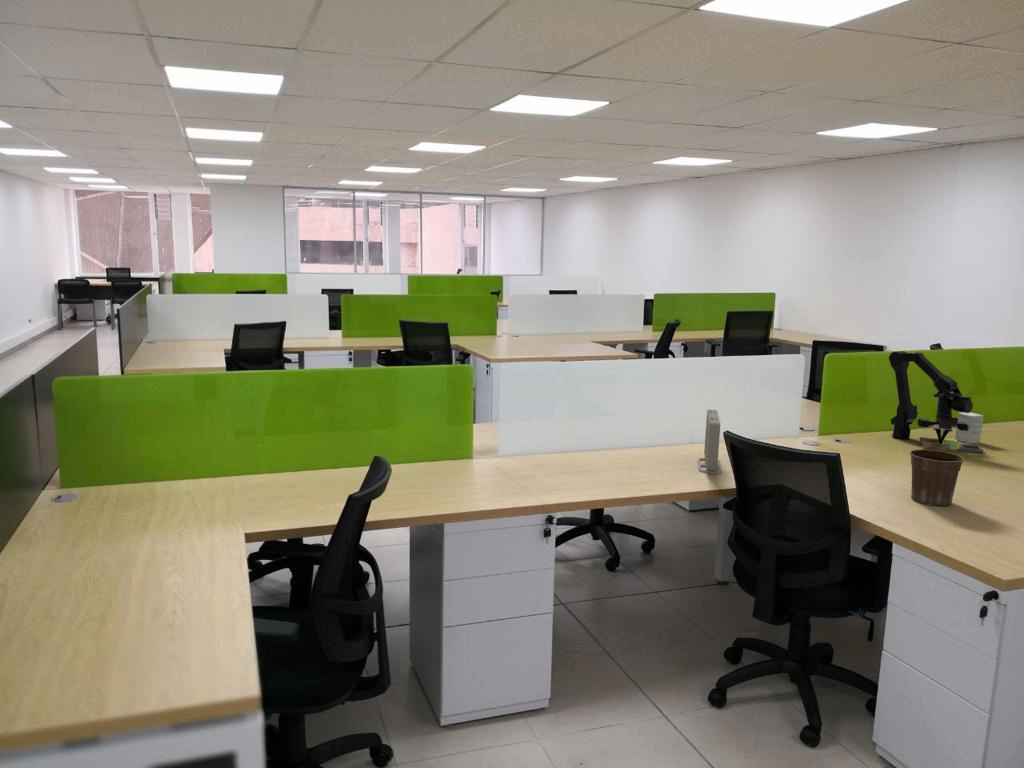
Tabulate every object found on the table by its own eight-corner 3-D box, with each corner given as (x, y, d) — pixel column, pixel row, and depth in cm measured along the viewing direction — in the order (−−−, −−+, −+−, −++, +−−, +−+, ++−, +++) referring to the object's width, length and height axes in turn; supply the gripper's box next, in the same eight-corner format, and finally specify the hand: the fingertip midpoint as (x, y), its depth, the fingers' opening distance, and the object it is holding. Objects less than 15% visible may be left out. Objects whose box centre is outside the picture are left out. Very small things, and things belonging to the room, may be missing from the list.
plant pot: (910, 490, 277) (916, 446, 274) (962, 500, 267) (968, 454, 264) (899, 501, 265) (904, 455, 262) (952, 512, 254) (958, 464, 252)
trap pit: (962, 451, 332) (962, 448, 332) (958, 447, 339) (959, 443, 339) (982, 453, 330) (983, 450, 329) (979, 449, 337) (979, 445, 337)
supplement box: (954, 440, 352) (957, 412, 350) (964, 438, 355) (968, 411, 353) (969, 443, 346) (973, 416, 344) (980, 442, 349) (984, 414, 347)
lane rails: (922, 448, 336) (923, 442, 335) (919, 442, 346) (919, 437, 346) (949, 451, 332) (949, 445, 332) (944, 445, 343) (945, 439, 342)
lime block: (944, 449, 336) (945, 441, 335) (942, 446, 340) (943, 438, 340) (957, 450, 334) (958, 442, 333) (955, 447, 339) (956, 439, 338)
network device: (723, 476, 288) (726, 423, 285) (698, 474, 290) (702, 422, 287) (719, 458, 313) (722, 409, 310) (696, 456, 315) (700, 408, 311)
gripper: (923, 410, 331) (918, 445, 334) (973, 414, 325) (968, 450, 328) (919, 405, 341) (915, 439, 344) (967, 409, 335) (963, 444, 338)
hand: (940, 443), depth 338 cm, fingers closed
